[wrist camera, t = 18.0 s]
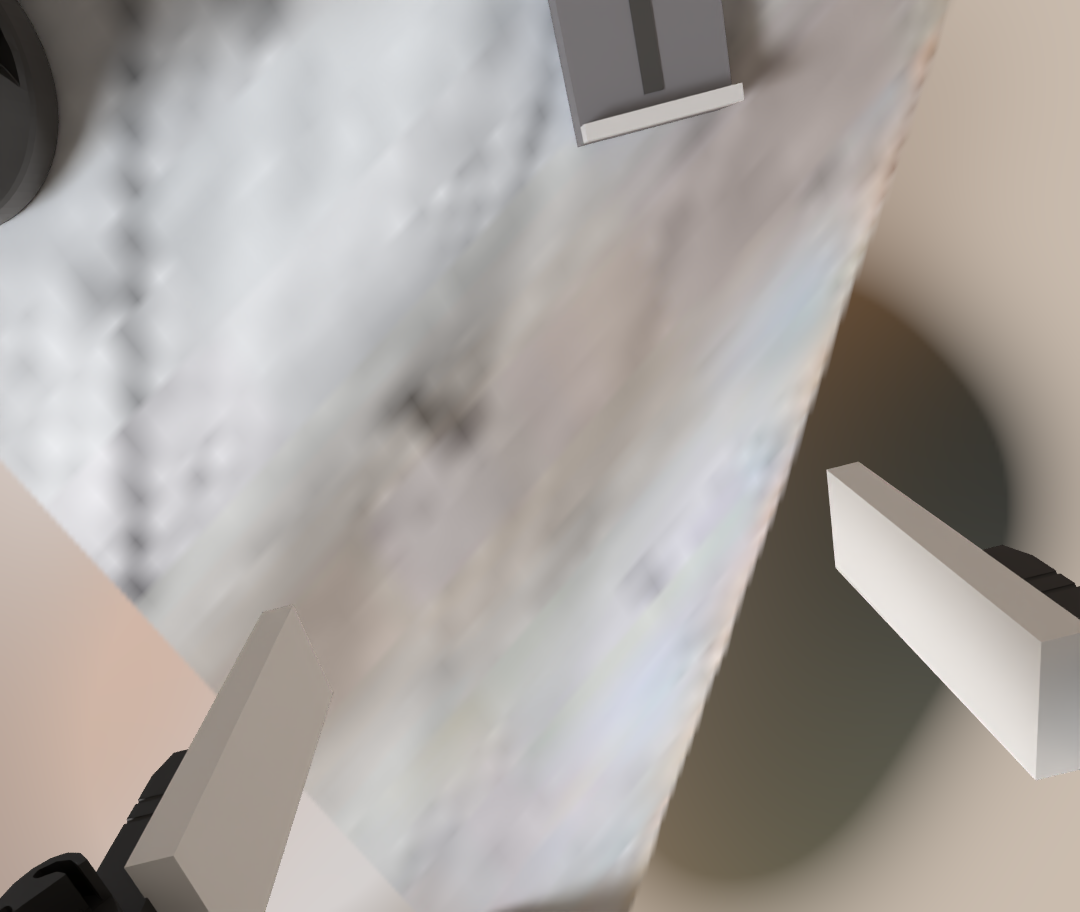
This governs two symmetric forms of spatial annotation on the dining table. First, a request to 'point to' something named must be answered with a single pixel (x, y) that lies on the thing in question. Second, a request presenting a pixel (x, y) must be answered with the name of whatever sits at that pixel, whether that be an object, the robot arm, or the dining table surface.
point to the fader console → (641, 63)
